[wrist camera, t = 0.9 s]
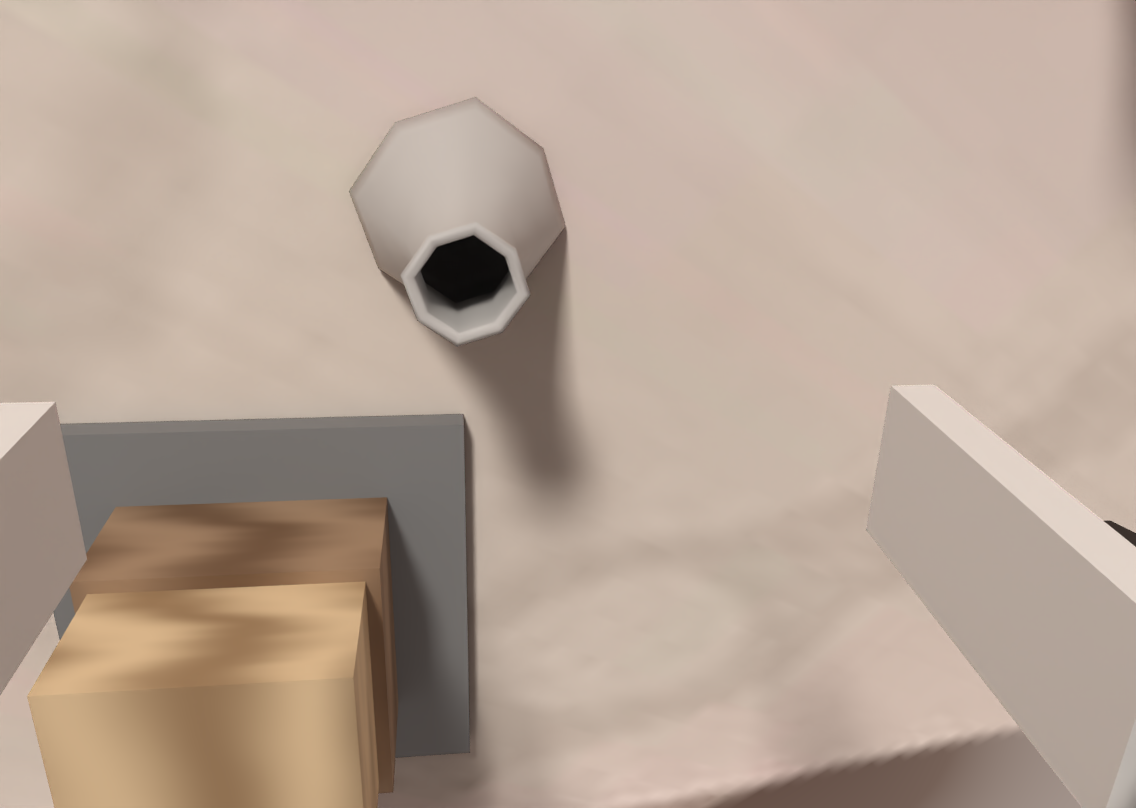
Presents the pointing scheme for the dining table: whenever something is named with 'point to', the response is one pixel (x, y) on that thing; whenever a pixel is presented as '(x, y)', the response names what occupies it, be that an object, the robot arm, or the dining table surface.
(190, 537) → the walnut block
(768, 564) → the dining table surface
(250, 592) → the oak block
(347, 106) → the dining table surface
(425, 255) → the flask
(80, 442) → the grey mat
